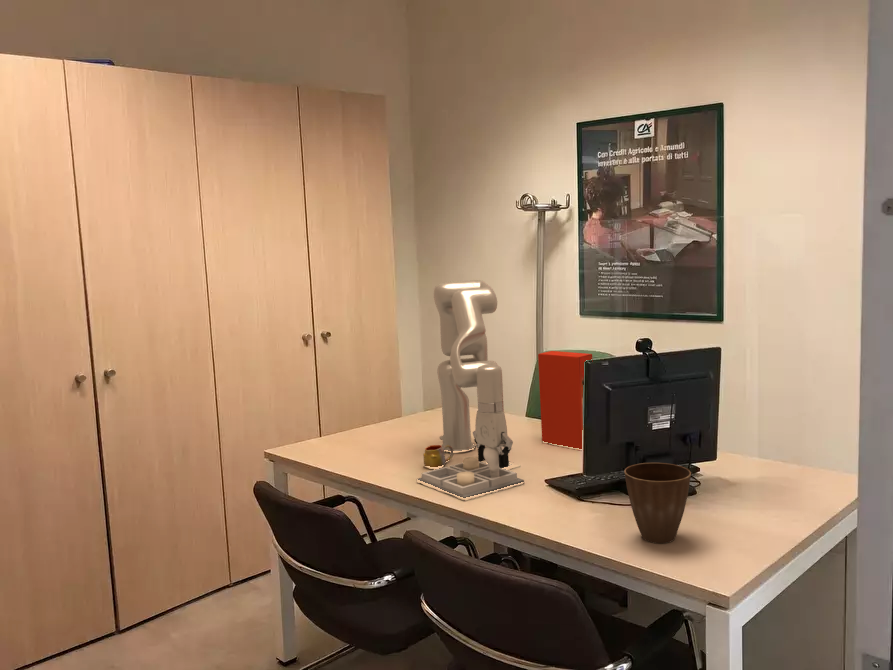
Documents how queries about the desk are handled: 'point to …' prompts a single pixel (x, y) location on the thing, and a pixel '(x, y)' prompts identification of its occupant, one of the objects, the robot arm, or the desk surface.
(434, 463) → the mug
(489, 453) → the lightbulb
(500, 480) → the compartment tray
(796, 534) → the desk surface
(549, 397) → the file binder
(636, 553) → the desk surface
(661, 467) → the plant pot
